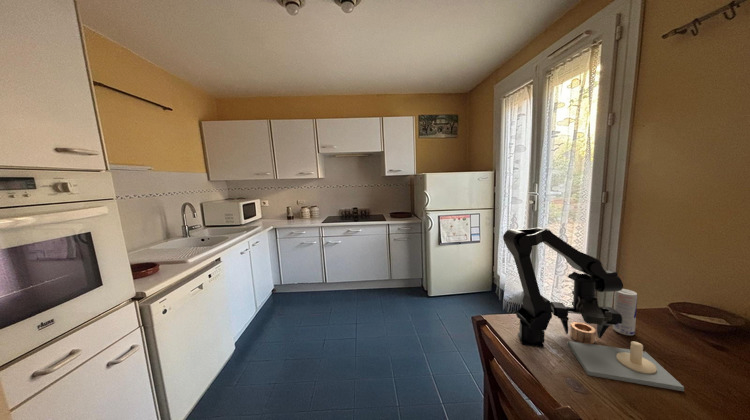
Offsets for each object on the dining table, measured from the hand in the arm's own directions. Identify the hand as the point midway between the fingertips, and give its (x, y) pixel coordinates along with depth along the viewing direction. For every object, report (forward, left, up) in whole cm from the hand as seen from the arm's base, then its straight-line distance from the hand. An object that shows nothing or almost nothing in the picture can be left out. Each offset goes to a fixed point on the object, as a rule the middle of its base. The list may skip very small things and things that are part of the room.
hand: (582, 335), depth 86 cm
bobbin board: (+4, -12, -1) cm, 13 cm away
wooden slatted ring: (0, 0, -1) cm, 1 cm away
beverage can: (+15, +8, -1) cm, 17 cm away
